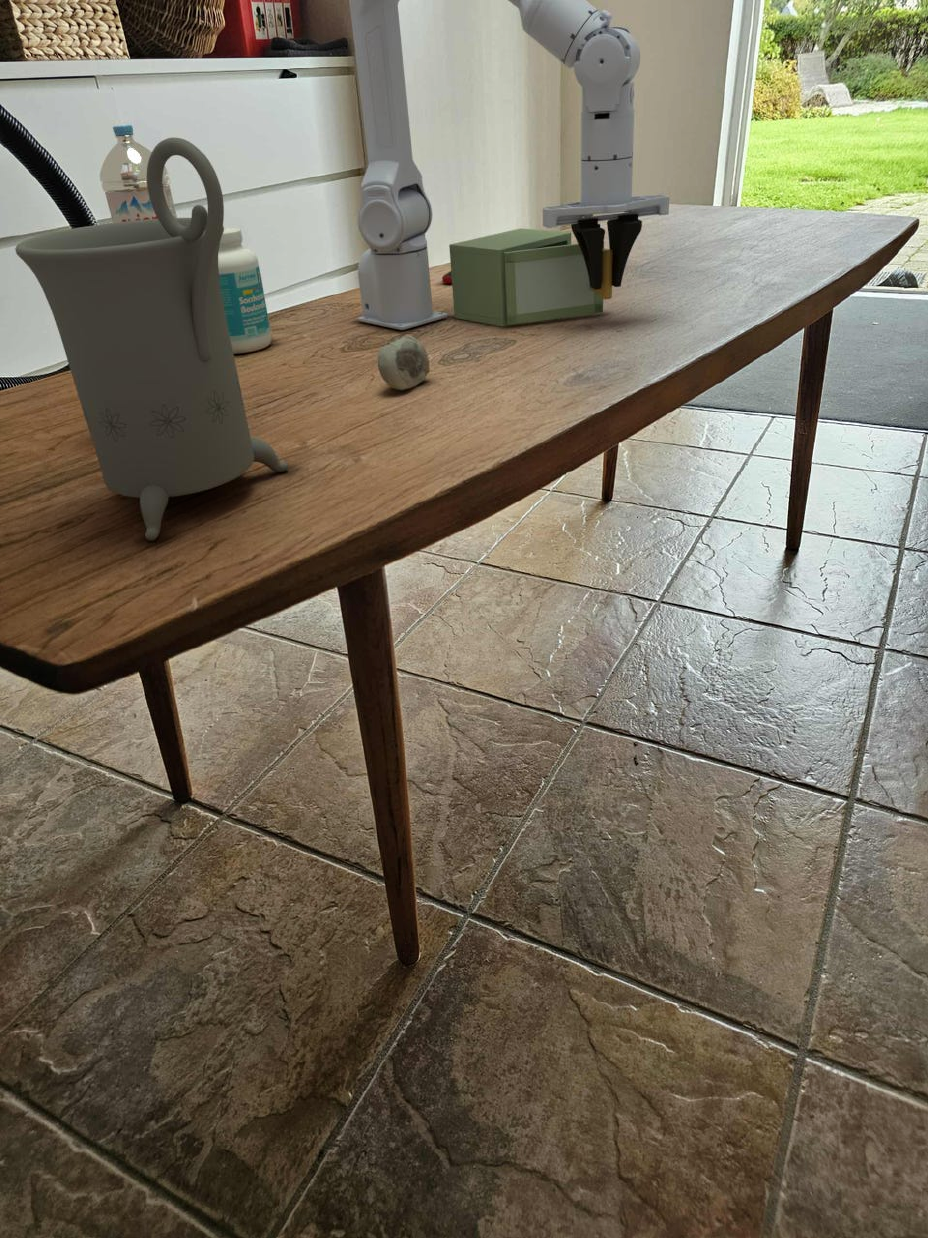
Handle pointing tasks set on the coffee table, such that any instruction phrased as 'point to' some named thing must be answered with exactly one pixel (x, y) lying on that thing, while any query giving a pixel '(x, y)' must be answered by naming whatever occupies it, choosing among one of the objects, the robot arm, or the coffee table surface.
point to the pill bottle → (242, 294)
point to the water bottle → (130, 179)
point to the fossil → (403, 362)
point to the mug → (152, 344)
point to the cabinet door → (553, 284)
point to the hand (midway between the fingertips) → (605, 286)
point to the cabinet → (491, 271)
